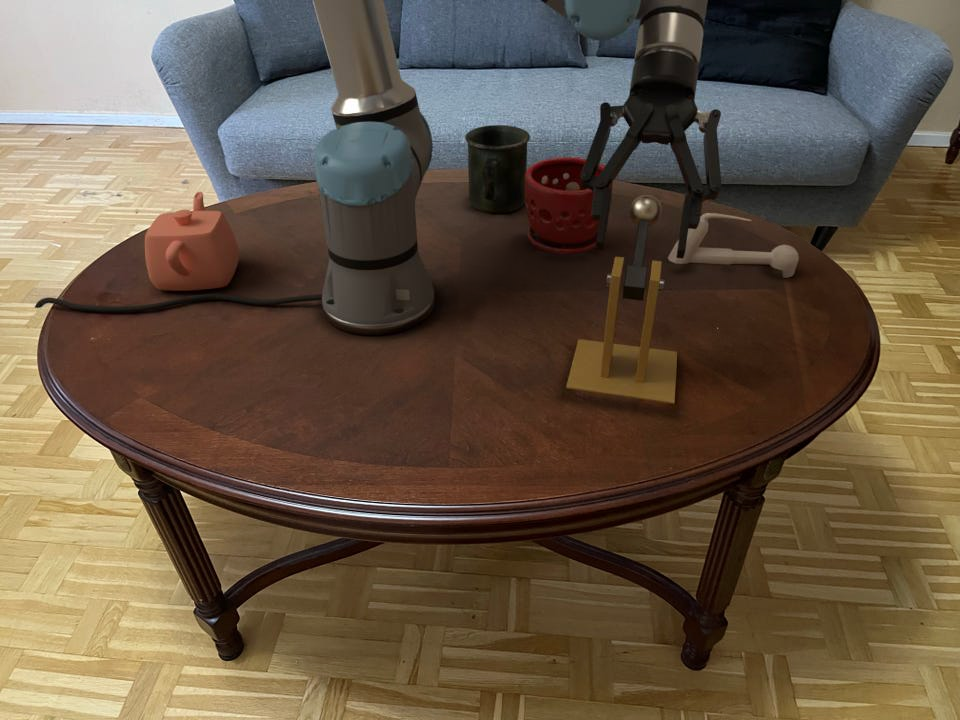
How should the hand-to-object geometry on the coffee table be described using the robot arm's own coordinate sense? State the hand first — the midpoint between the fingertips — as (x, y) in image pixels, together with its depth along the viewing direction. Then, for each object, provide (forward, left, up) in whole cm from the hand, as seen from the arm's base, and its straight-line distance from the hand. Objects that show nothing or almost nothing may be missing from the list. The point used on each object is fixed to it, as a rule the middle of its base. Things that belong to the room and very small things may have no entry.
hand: (639, 250), depth 81 cm
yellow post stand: (0, -6, -14) cm, 15 cm away
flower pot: (-12, +27, -14) cm, 33 cm away
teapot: (-63, +5, -14) cm, 65 cm away
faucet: (+13, +25, -14) cm, 32 cm away
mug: (-26, +39, -14) cm, 49 cm away
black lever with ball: (0, 0, 0) cm, 0 cm away
